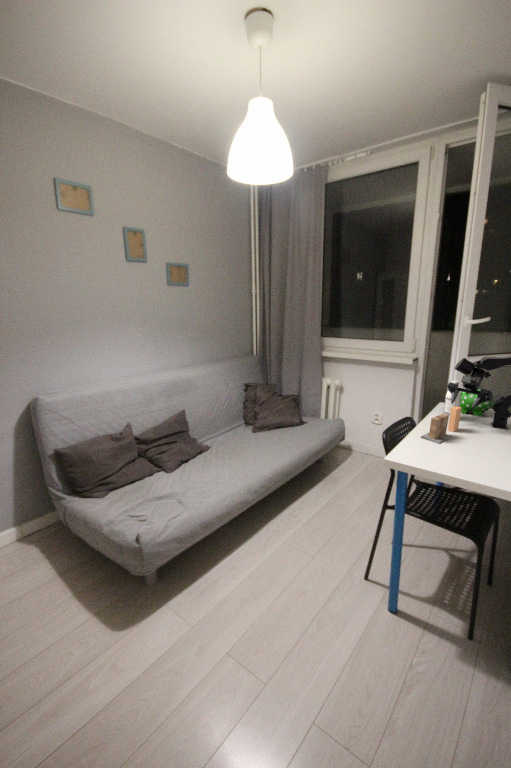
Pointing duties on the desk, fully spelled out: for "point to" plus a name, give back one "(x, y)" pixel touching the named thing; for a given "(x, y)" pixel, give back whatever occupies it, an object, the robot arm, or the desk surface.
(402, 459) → the desk surface
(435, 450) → the desk surface
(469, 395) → the piggy bank
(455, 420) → the block
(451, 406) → the bath foam
